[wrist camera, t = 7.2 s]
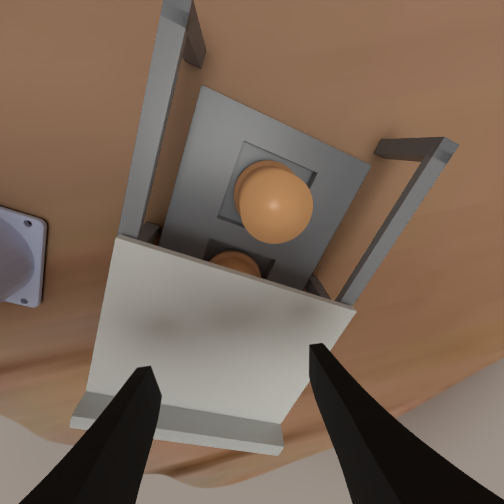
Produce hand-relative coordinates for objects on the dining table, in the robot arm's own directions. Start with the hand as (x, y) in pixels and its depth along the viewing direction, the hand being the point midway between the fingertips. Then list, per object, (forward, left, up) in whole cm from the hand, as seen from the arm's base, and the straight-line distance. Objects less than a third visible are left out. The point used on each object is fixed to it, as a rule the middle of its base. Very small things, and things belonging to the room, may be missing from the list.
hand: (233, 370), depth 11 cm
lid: (0, -4, -4) cm, 6 cm away
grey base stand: (0, +1, -10) cm, 10 cm away
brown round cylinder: (0, +7, -10) cm, 12 cm away
